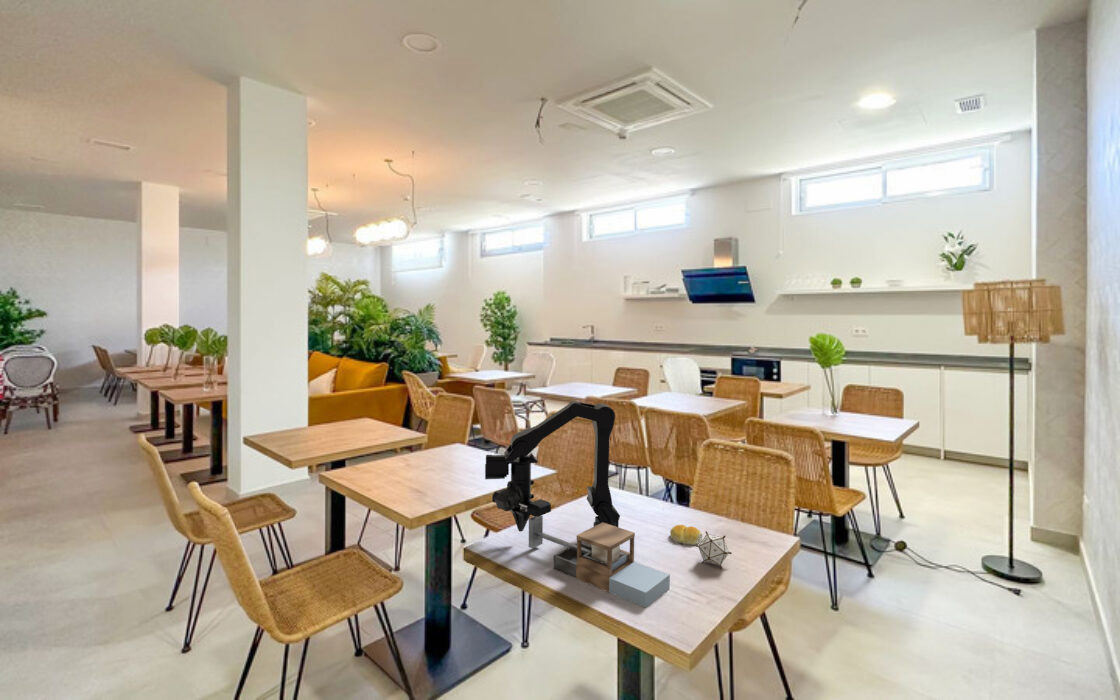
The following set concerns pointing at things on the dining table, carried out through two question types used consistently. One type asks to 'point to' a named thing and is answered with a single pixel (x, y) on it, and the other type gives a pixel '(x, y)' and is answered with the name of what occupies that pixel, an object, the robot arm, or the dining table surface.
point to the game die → (713, 549)
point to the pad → (639, 584)
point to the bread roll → (686, 535)
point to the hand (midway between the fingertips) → (520, 530)
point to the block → (605, 553)
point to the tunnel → (597, 536)
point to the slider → (564, 542)
